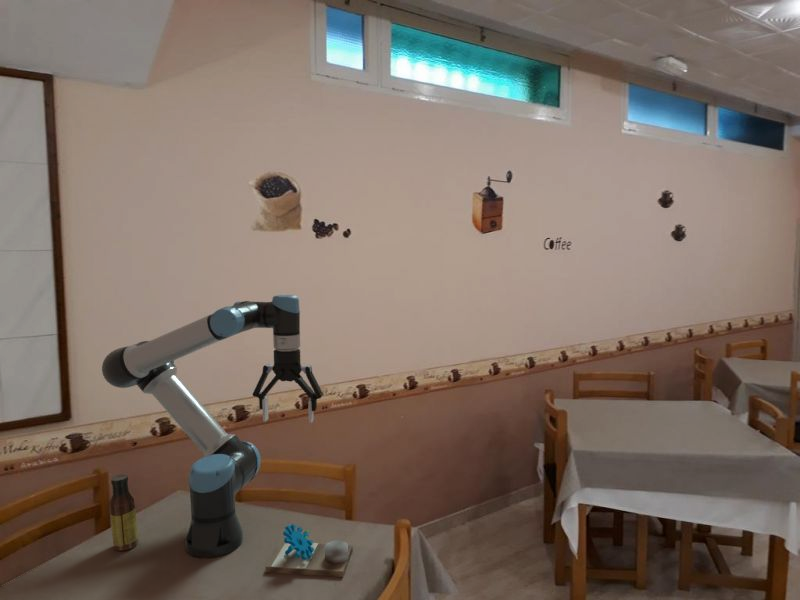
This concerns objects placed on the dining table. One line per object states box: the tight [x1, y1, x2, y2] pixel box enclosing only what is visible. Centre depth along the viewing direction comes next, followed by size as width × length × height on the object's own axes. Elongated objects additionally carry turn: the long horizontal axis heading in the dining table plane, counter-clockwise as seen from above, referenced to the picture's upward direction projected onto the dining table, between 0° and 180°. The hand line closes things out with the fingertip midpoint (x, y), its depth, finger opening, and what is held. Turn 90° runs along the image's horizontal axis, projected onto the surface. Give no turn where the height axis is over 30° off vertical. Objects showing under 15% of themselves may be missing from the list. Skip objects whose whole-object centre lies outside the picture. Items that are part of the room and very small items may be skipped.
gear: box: [282, 523, 314, 560], centre depth 146 cm, size 11×6×10 cm
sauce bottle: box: [109, 474, 139, 552], centre depth 153 cm, size 6×6×20 cm
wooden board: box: [264, 539, 354, 578], centre depth 146 cm, size 20×12×4 cm, turn 83°
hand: (288, 421), depth 162 cm, fingers open, 13 cm apart
